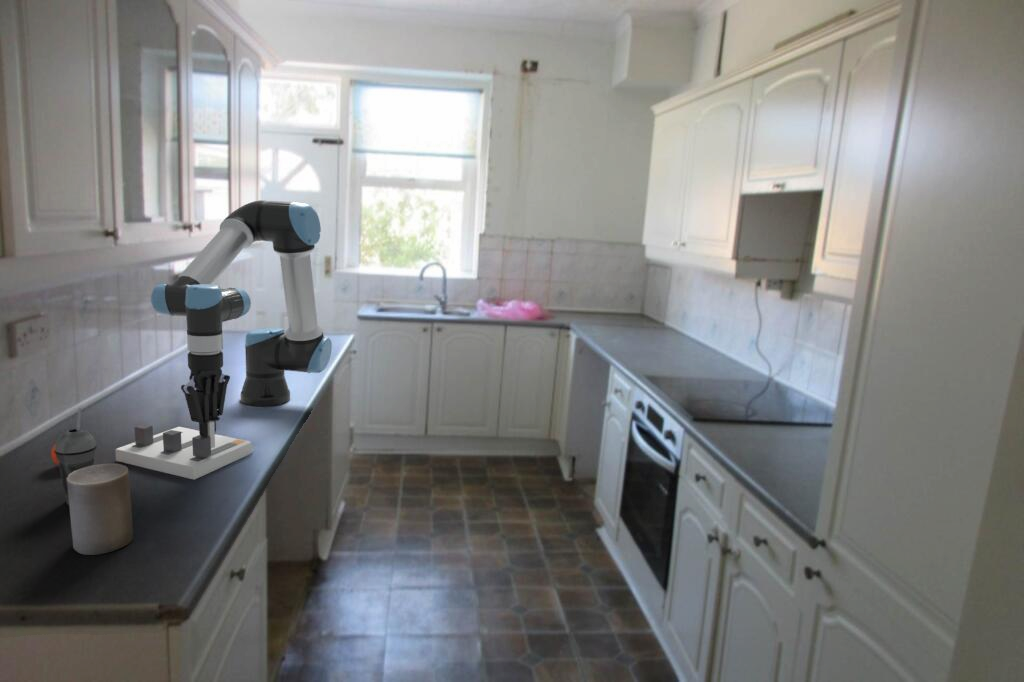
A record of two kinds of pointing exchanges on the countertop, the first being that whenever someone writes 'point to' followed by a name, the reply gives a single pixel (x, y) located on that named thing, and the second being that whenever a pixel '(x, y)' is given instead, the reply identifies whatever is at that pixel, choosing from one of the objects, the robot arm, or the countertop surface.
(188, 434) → the breaker panel
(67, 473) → the beverage cup
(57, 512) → the countertop surface
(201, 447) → the handle
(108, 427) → the countertop surface
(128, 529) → the pillar candle
